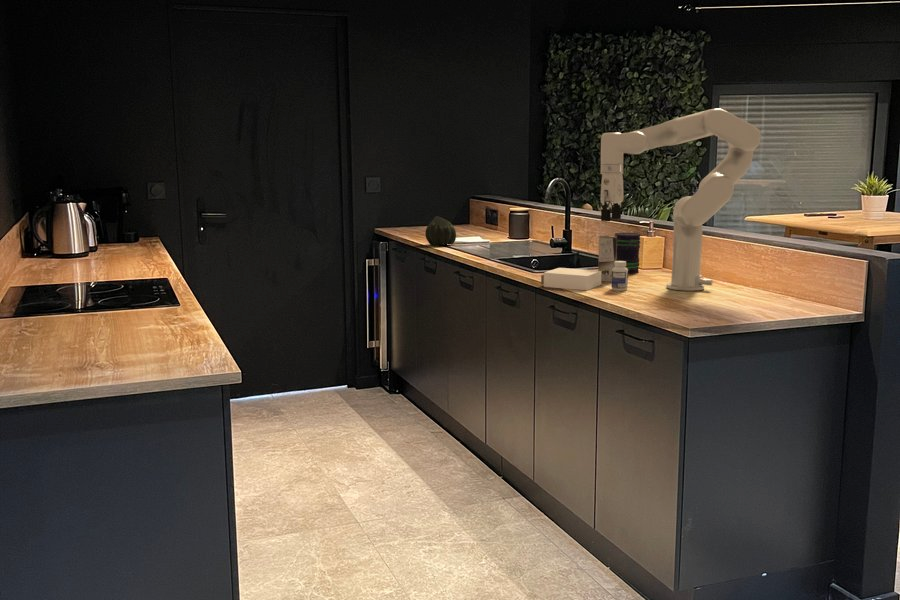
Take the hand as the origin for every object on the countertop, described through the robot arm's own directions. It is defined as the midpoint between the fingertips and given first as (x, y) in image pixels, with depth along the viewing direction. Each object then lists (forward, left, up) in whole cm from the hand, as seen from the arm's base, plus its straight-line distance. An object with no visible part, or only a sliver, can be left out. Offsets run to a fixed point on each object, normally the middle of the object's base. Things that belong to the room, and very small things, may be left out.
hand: (611, 219), depth 297 cm
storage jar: (+6, -39, -24) cm, 46 cm away
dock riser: (+12, +3, -24) cm, 27 cm away
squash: (+114, -82, -24) cm, 143 cm away
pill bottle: (-5, +3, -24) cm, 24 cm away
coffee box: (+6, -16, -24) cm, 29 cm away
